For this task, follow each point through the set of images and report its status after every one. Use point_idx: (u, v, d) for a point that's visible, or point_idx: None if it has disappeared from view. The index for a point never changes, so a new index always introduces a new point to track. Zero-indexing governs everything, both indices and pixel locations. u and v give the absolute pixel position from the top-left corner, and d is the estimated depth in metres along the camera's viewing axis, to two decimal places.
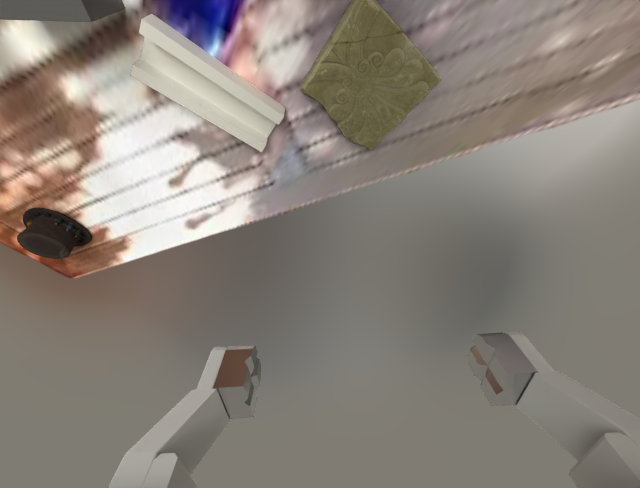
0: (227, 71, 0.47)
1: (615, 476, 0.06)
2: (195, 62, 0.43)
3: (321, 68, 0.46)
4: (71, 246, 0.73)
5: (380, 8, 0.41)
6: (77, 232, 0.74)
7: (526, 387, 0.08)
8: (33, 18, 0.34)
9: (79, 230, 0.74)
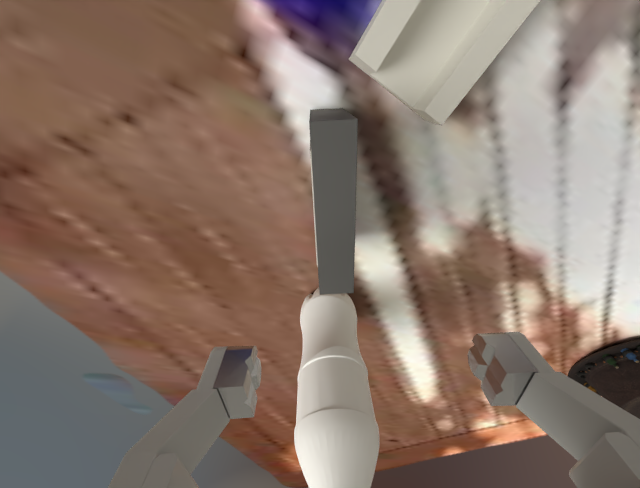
0: None
1: (615, 476, 0.06)
2: None
3: None
4: None
5: None
6: None
7: (526, 387, 0.08)
8: (352, 221, 0.20)
9: None
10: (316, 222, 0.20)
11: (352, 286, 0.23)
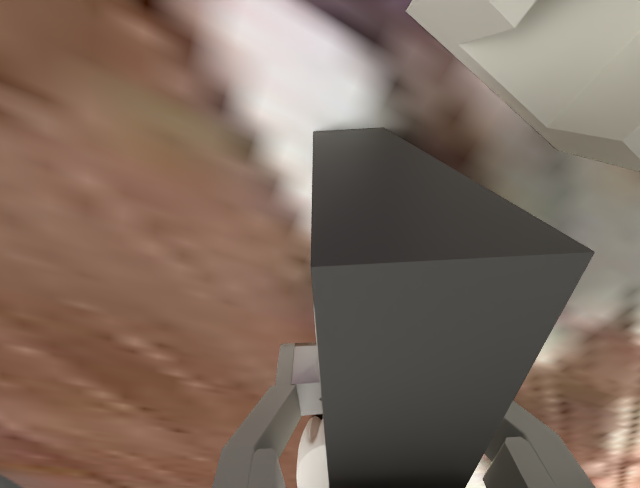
0: None
1: (511, 481, 0.06)
2: None
3: None
4: None
5: None
6: None
7: None
8: None
9: None
10: None
11: None
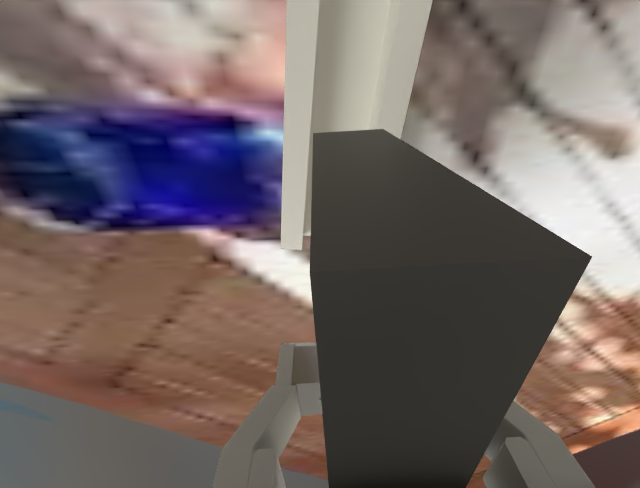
0: None
1: (511, 481, 0.06)
2: (295, 165, 0.22)
3: None
4: None
5: None
6: None
7: None
8: None
9: None
10: None
11: None
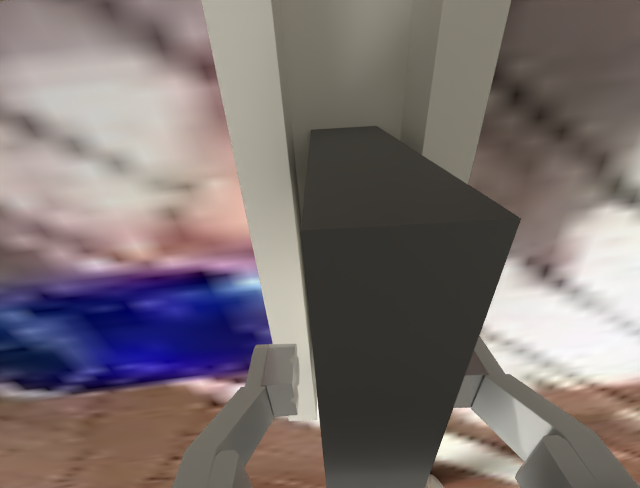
0: None
1: (550, 479, 0.06)
2: None
3: None
4: None
5: None
6: None
7: (479, 389, 0.08)
8: (428, 455, 0.07)
9: None
10: (326, 460, 0.07)
11: None
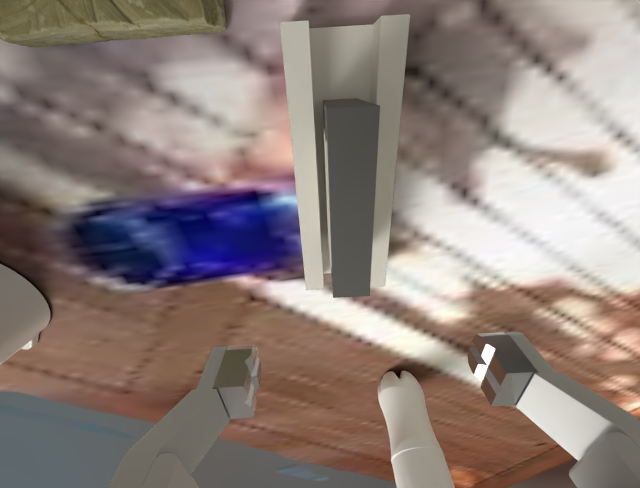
0: None
1: (615, 476, 0.06)
2: (310, 227, 0.27)
3: (136, 13, 0.19)
4: None
5: None
6: None
7: (527, 387, 0.08)
8: (371, 219, 0.19)
9: None
10: (331, 220, 0.19)
11: (368, 289, 0.22)
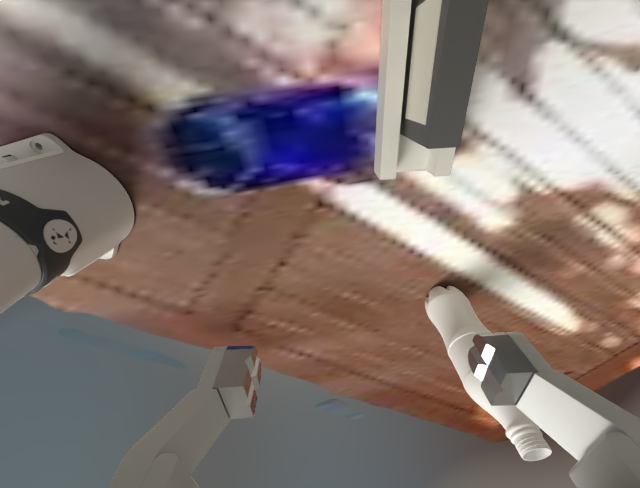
0: (382, 64, 0.30)
1: (615, 476, 0.06)
2: (392, 110, 0.31)
3: None
4: None
5: None
6: None
7: (526, 387, 0.08)
8: (474, 59, 0.22)
9: None
10: (441, 60, 0.22)
11: (459, 139, 0.26)
